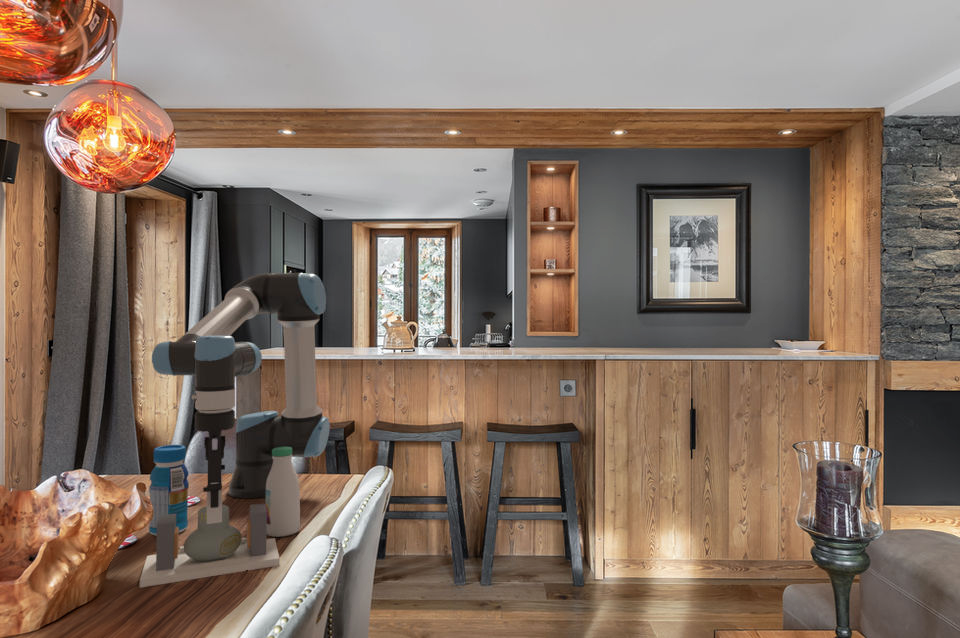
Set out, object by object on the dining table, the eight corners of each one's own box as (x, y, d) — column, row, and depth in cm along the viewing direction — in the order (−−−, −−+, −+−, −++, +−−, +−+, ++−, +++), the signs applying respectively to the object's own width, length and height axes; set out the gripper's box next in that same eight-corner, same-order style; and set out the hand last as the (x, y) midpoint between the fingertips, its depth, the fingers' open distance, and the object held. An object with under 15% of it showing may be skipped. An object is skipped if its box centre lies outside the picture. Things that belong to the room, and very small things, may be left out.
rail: (147, 563, 118) (148, 512, 118) (274, 544, 129) (275, 498, 129) (139, 587, 107) (140, 531, 108) (279, 565, 118) (280, 514, 118)
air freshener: (214, 544, 125) (215, 499, 125) (247, 548, 122) (247, 502, 122) (176, 565, 114) (177, 515, 114) (211, 570, 112) (211, 519, 112)
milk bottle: (305, 527, 139) (304, 445, 140) (290, 538, 132) (288, 451, 132) (276, 526, 141) (275, 444, 141) (259, 537, 133) (258, 451, 134)
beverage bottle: (143, 538, 132) (144, 452, 132) (154, 526, 140) (155, 444, 140) (183, 535, 134) (185, 450, 134) (191, 523, 142) (192, 442, 142)
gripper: (197, 402, 128) (197, 495, 128) (192, 421, 105) (191, 535, 106) (233, 400, 131) (233, 491, 131) (236, 419, 108) (235, 529, 109)
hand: (214, 511), depth 119 cm, fingers open, 13 cm apart
